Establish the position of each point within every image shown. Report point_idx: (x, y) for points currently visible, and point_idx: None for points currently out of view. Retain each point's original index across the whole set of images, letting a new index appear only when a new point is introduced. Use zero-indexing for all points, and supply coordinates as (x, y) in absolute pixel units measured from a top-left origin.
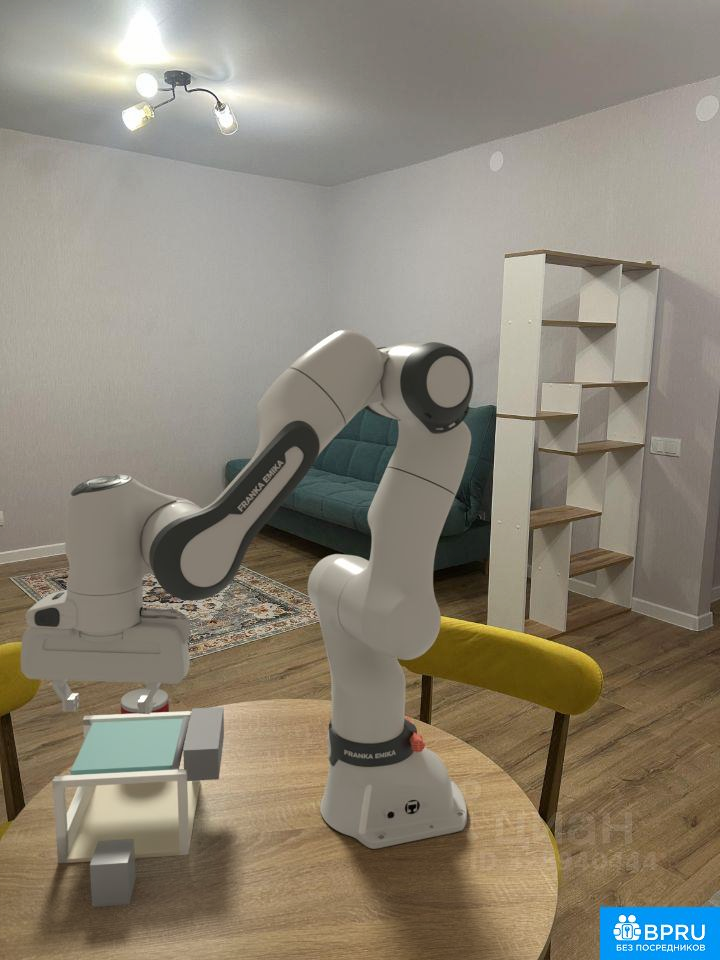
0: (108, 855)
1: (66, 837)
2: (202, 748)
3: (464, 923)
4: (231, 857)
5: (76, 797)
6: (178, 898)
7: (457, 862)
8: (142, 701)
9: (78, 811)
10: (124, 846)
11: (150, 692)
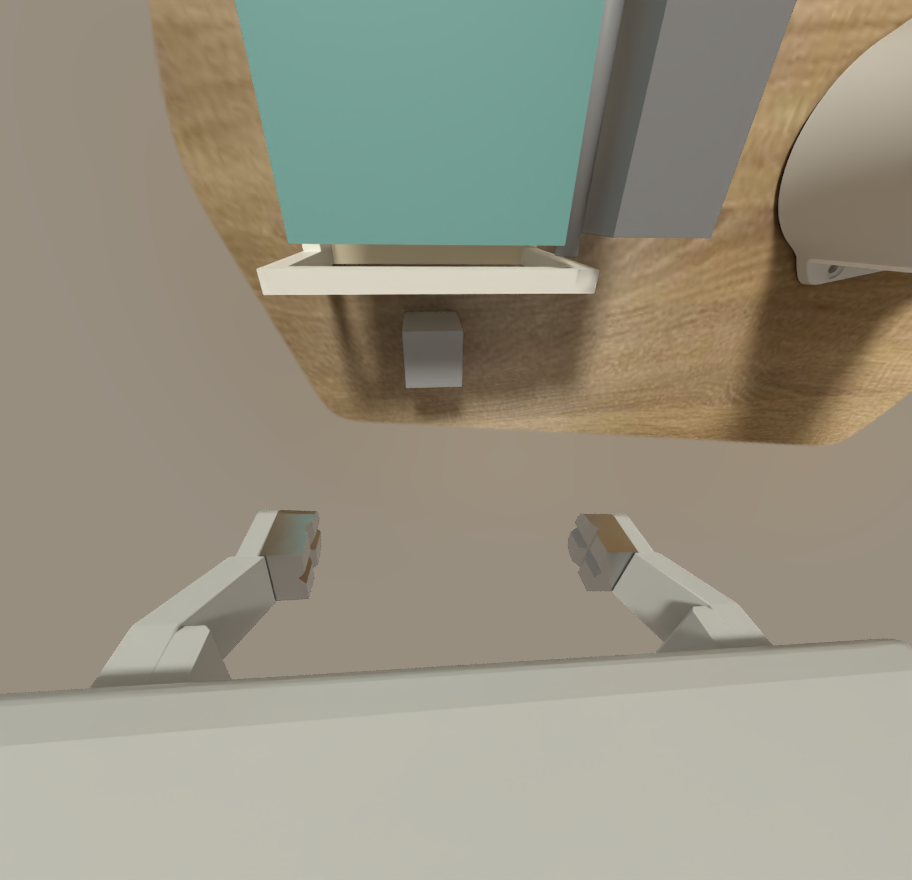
0: (429, 368)
1: (324, 262)
2: (668, 232)
3: (806, 414)
4: None
5: None
6: (517, 356)
7: (882, 321)
8: (606, 588)
9: None
10: (450, 349)
11: (662, 637)
